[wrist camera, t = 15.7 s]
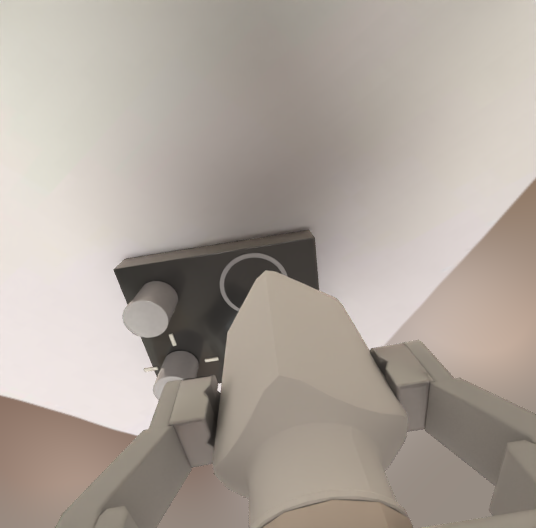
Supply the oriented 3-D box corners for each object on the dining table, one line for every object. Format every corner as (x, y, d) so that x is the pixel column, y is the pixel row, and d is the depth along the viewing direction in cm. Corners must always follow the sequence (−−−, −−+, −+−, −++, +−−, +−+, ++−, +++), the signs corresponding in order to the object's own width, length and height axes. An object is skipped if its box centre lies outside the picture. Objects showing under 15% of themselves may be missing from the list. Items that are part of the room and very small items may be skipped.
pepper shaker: (223, 334, 13) (163, 768, 4) (262, 260, 11) (310, 659, 2) (299, 362, 13) (393, 762, 5) (344, 296, 12) (588, 680, 3)
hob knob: (169, 379, 30) (158, 410, 26) (159, 353, 28) (146, 382, 25) (202, 374, 30) (196, 405, 26) (194, 347, 28) (186, 376, 25)
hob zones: (172, 387, 30) (163, 416, 27) (128, 272, 25) (110, 291, 21) (299, 367, 30) (305, 393, 27) (284, 247, 25) (289, 263, 21)
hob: (162, 378, 33) (155, 397, 30) (115, 260, 27) (102, 271, 24) (320, 353, 33) (325, 370, 30) (309, 229, 27) (315, 238, 24)
